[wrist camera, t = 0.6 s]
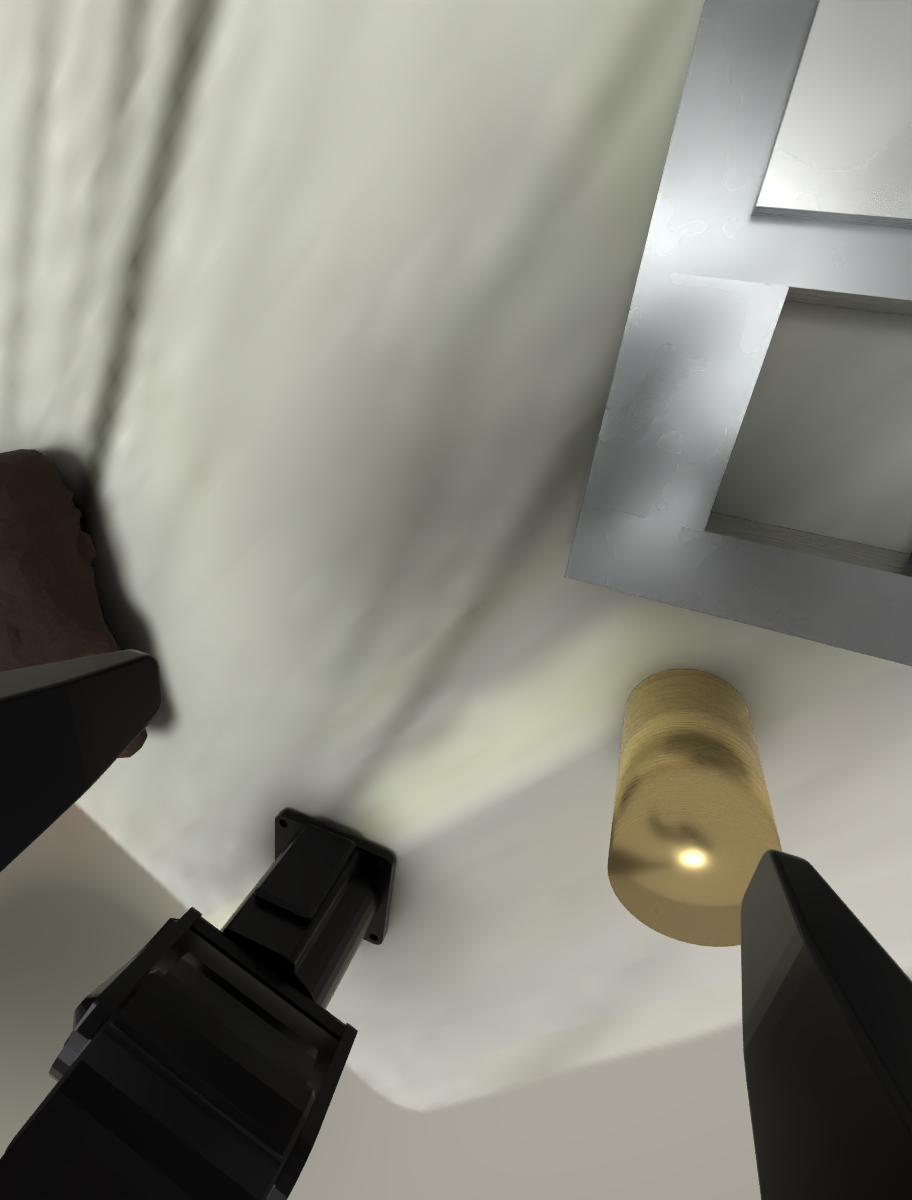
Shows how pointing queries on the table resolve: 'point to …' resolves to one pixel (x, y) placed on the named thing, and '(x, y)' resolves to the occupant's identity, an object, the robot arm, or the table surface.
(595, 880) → the table surface
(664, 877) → the tan rectangular block
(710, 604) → the metal square frame
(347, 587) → the table surface
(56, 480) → the dark brown rounded lump
